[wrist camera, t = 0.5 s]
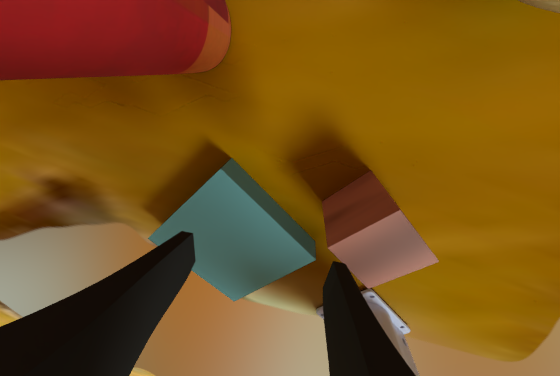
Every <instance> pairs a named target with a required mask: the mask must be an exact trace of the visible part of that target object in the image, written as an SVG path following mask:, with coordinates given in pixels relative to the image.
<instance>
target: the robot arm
mask: <svg viewBox="0 0 560 376" xmlns="http://www.w3.org/2000/svg"><path fill="white" fill-rule="evenodd" d="M195 261H196V259H195V248H194V236H193V233H190V232H185V231H181V232H179V233H178V234H176V235H175V236H173V237H171V238H170V239H168V240H167V241H165V242H164V243H162V244H161V245H159V246H158V247H156V248H155V249H153V250H151V251H150V252H148V253H147V254H145V255H144V256H142V257H140V258H139V259H137V260H136V261H134V262H132V263H130V264H129V265H127V266H126V267H124V268H122V269H120V270H119V271H117V272H115V273H113V274H112V275H110V276H108V277H106V278H105V279H103V280H101V281H99V282H97V283H95V284H93V285H91V286H89V287H88V288H85V289H83V290H82V291H80V292H78V293H76V294H73V295H71V296H69V297H67V298H65V299H63V300H61V301H58V302H56V303H54V304H52V305H50V306H48V307H45V308H43V309H41V310H39V311H37V312H34V313H32V314H30V315H27V316H25V317H23V318H20V319H18V320H16V321H13V322H11V323H9V324H6V325H4V326H1V327H0V376H129V375H130V373H131V371H132V369H133V367H134V365H135V363H136V361H137V360H138V358H139V356H140V354H141V352H142V350H143V349H144V347H145V345H146V343H147V341H148V339H149V338H150V336H151V334H152V333H153V331H154V329H155V328H156V326H157V324H158V323H159V321H160V320H161V318H162V317H163V315H164V314H165V312H166V311H167V309H168V307H169V306H170V305H171V303H172V301H173V300H174V298H175V297H176V295H177V294H178V292H179V291H180V289H181V287H182V286H183V284H184V283H185V281H186V279H187V278H188V275H189V274H190V272H191V270H192V268H193V266H194V263H195ZM316 313H317V314H318V315H319V316H320V317H322V318H323V319H324V324H325V333H326V342H327V351H328V360H329V372H330V376H419V373H418V371H417V368H416V365H415V363H414V360H413V357H412V355H411V352H410V350H409V347H408V344H407V342H406V339H405V337H404V334H406V333H409V332H410V328H409V327H408V326H407V325H406V324H405V323H404V322H403V321H402V319H401V318H400V317H399V316H398V315H397V314H396V313H395V312H394V311H393V310H392V309H391V308H390V307H389V306H388V305H387V304H386V303H385V302H384V301H383V300H382V299H381V298H380V297H379V296H378V295H377V294H376V293H375V292H374V291H373V290H372V289H366V290H363V291H360V289H359V288H358V286H357V284H356V282H355V280H354V278H353V277H352V275H351V273H350V271H349V269H348V267H347V265H346V264H344V263H339V262H334V261H333V263H332V265H331V268H330V271H329V273H328V276H327V278H326V281H325V284H324V286H323V306H322V307H320V308H317V309H316Z"/></svg>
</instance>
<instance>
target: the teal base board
mask: <svg viewBox="0 0 560 376" xmlns="http://www.w3.org/2000/svg"><path fill="white" fill-rule="evenodd" d="M181 231H185V232H190V233H193V236H194V248H195V259H196V261H195V263H194V266H193V268H192V271H193V272H195V273H196V274H197V275H199V276H200V277H201V278H203V279H204V280H205V281H207V282H208V283H210V284H211V285H212V286H214V287H215V288H216V289H218V290H219V291H221V292H222V293H223V294H225V295H226V296H227V297H229V298H230V299H231V300H233V301H236V300H238V299H240V298H242V297H244V296H246V295H248V294H250V293H252V292H254V291H256V290H258V289H260V288H262V287H264V286H266V285H268V284H270V283H272V282H274V281H276V280H278V279H279V278H281V277H283V276H285V275H287V274H289V273H291V272H293V271H295V270H297V269H299V268H301V267H303V266H305V265H307V264H309V263H311V262H313V261H315V260H316V250H315V241H314V240H313V239H312V238H311V237H310V236H309V235H308V234H307V233H306V232H305V231H304V230H303V229H302V228H301V227H300V226H299V225H298V224H297V223H296V222H295V221H294V220H293V219H292V218H291V217H290V216H289V215H288V214H287V213H286V212H285V211H284V210H283V209H282V208H281V207H280V206H279V205H278V204H277V203H276V202H275V201H274V200H273V199H272V198H271V197H270V196H269V195H268V194H267V193H266V192H265V191H264V190H263V189H262V188H261V187H260V186H259V185H258V184H257V183H256V182H255V181H254V180H253V179H252V178H251V177H250V176H249V175H248V174H247V173H246V172H245V171H244V170H243V169H242V168H241V167H240V166H239V165H238V164H237V163H236V162H235V161H234V160H233V159H232V158H231V159H230V160H229V161H228V162H227V163H226V164H225V165H224V166H223V167H222V168H221V169H220V170H218V171H217V172H216V173H215V174H214V175H213V176H212V177H211V178H210V179H209V180H208V181H207V182H206V183H205V184H204V185H203V186H202V187H201V188H200V189H199V190H198V191H197V192H196V193H195V194H193V195H192V196H191V197H190V198H189V199H188V200H187V201H186V202H185V203H184V204H183V205H182V206H181V207H180V208H179V209H178V210H177V211H176V212H175V213H174V214H173V215H172V216H171V217H169V218H168V219H167V220H166V221H165V222H164V223H163V224H162V225H161V226H160V227H159V228H158V229H157V230H156V231H155V232H154V233H153V234H152V235H151V236H150V237H149V238H148V239H149V240H151V241H152V242H153V243H155V244H156V245H158V246H159V245H161V244H162V243H164V242H165V241H167V240H168V239H170V238H171V237H173V236H175V235H176V234H178V233H179V232H181Z"/></svg>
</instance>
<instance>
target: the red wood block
mask: <svg viewBox="0 0 560 376" xmlns="http://www.w3.org/2000/svg"><path fill="white" fill-rule="evenodd" d="M322 206H323V214H324V222H325V230H326V238H327V246H328V249H329V250H330V251H331V252H332V253H333V254H334V255H335V256H336V257H337V258H338V259H339V260H340V261H341V262H342V263H344V264H346V265H347V267H348V269H349V270H350V271H351V272H352V273H353V274H354V275H355V276H356V277H357V278H358V279H359V280H360V281H361V282H362V283H363V284H364V285H365V286H366V287H367V288H368V289H369V288H372V287H374V286H377V285H380V284H382V283H385V282H387V281H390V280H393V279H395V278H398V277H400V276H403V275H406V274H408V273H411V272H413V271H416V270H418V269H421V268H424V267H426V266H429V265H431V264H434V263H437V262H439V261H438V259H437V258H436V257H435V255H434V254H433V253H432V251H431V250H430V249H429V247H428V246H427V245H426V243H425V242H424V241H423V239H422V238H421V237H420V235H419V234H418V233H417V231H416V230H415V228H414V227H413V226H412V224H411V223H410V222H409V220H408V219H407V218H406V216H405V215H404V214H403V212H402V211H401V210H400V208H399V207H398V206H397V204H396V203H395V202H394V200H393V199H392V198H391V196H390V195H389V194H388V192H387V191H386V190H385V188H384V187H383V186H382V184H381V183H380V182H379V180H378V179H377V178H376V176H375V175H374V174H373V173H372V171H371V170H370V171H369V172H367V173H366V174H364V175H363V176H361V177H359V178H358V179H356V180H355V181H353V182H352V183H350V184H349V185H347V186H345V187H344V188H342V189H341V190H339V191H338V192H336V193H335V194H333V195H331V196H330V197H328V198H327V199H325V200H324V201H322Z"/></svg>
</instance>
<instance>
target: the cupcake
mask: <svg viewBox="0 0 560 376" xmlns="http://www.w3.org/2000/svg"><path fill="white" fill-rule="evenodd" d="M519 1H520V2H523V3H526V4H529V5H532V6H535V7H538V8H541V9H545V10H549V11H553V12H557V13H560V0H519Z"/></svg>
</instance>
